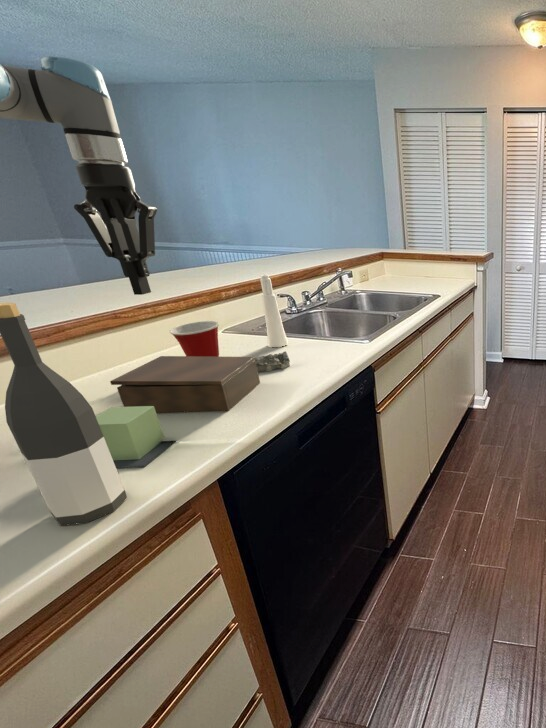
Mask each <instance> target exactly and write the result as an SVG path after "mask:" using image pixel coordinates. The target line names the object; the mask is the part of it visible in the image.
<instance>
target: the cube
mask: <svg viewBox="0 0 546 728" xmlns="http://www.w3.org/2000/svg"><path fill="white" fill-rule="evenodd" d="M157 414H158V413H156V411H155V408H154V406H135V407H124V406H112V407H110V408H108V409H106V410H104V411H102V412H100V413H99V414H98V415H95V416H96V419H97V421H98V424H99V426H100V429H101V431H102V434H103V436H104V439H105V441H106V444H107V446H108V449H109V452H110V454H111V457H112V459H113V460H136V459H140V458H142V457H143V456H144V455H146V454H147V453H148V452H149V451H151V450H152V449H153V448H154V447H156V446H157V445H158V444H160V443H161V442H162V441H163V439H165V435H164V432H163V429H162V426H161V423H160V421H159V417H158V415H157Z"/></svg>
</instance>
